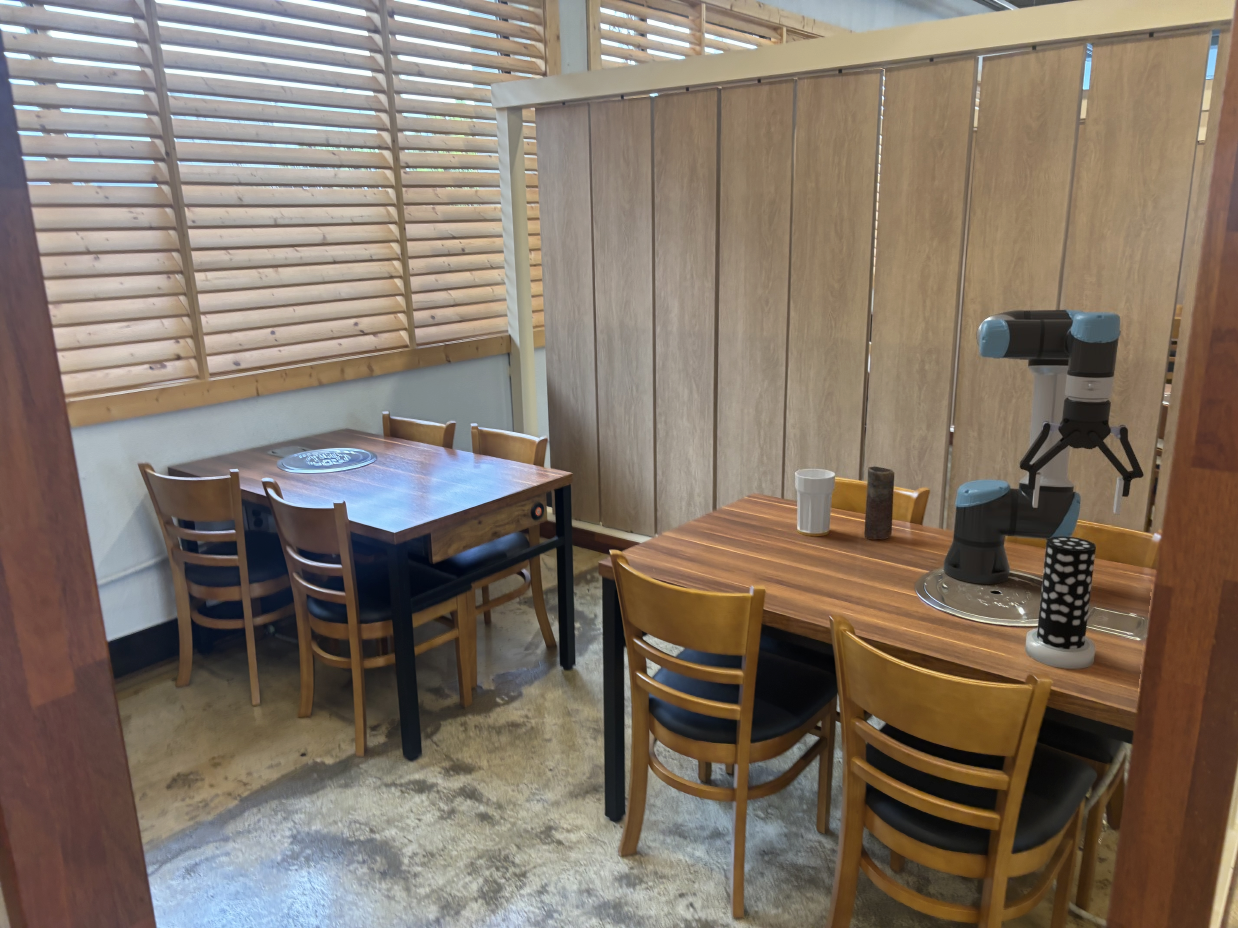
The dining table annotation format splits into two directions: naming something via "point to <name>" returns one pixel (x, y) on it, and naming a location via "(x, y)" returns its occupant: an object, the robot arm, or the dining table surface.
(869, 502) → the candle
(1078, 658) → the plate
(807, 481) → the cup
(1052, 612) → the spotted tube
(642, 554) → the dining table surface
